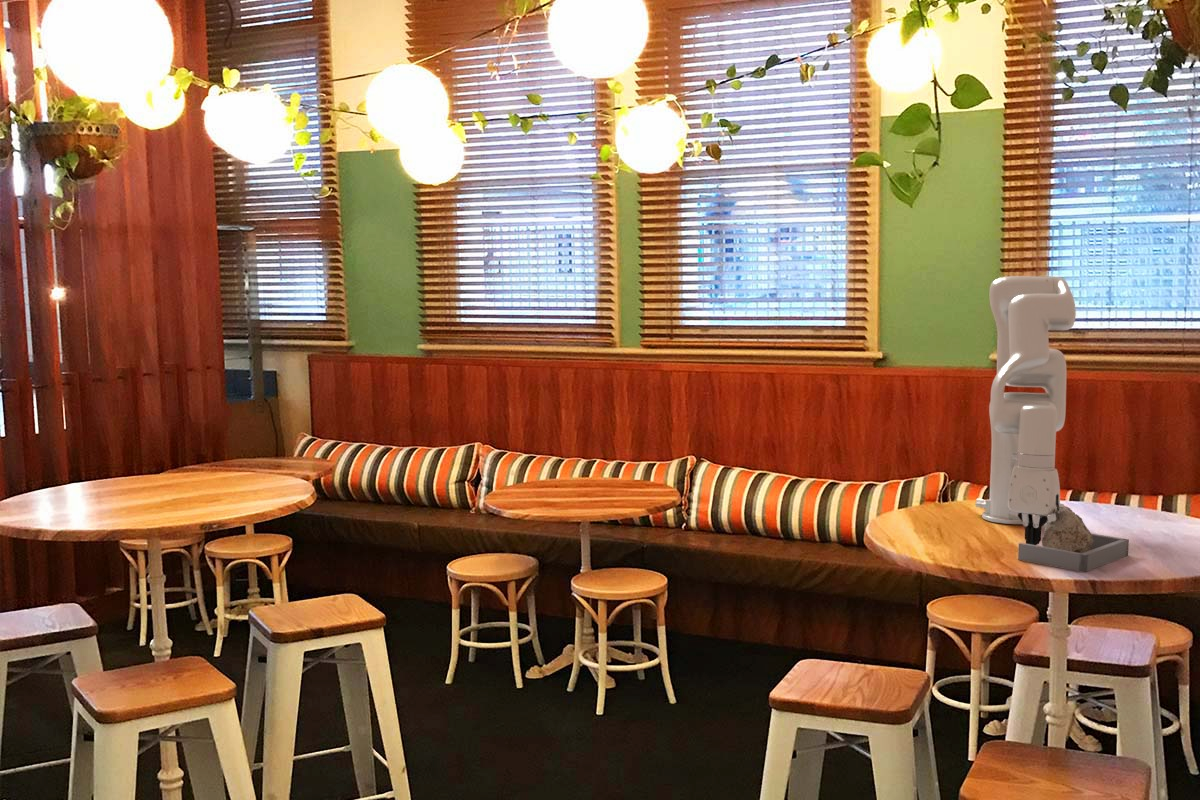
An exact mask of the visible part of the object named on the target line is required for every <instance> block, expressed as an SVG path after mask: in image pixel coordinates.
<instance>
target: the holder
mask: <svg viewBox="0 0 1200 800" xmlns="http://www.w3.org/2000/svg"><path fill="white" fill-rule="evenodd" d="M1091 534H1092V536H1093V537H1092V538H1093V544H1092V546H1091V549H1090V551H1087V552H1084V553H1077V552H1072V551H1066V550H1060V549H1055V548H1049V547H1043V546H1042V545H1032V544H1026V542H1019V543H1018V550H1017V551H1018V553H1017V555H1018V557H1017V558H1018V559H1017V560H1019V561H1022V562H1028V563H1032V564H1039V565H1043V566H1044V565H1045V566H1048V567H1049V566H1050V567H1054V568H1055V567H1056V568H1059V569H1060V568H1061V569H1066V570H1071V571H1076V572H1082V573H1086V572H1088V571H1091V570H1094V569H1096V568H1099V567H1101V566H1105V565H1107V564H1110V563H1112V562H1115V561H1117V560H1120V559H1122V558H1125V557H1128V556H1129V549H1130V548H1129V546H1130V545H1129V544H1130V542H1129V541H1130V539H1128V538H1121V537H1116V536H1110V535H1109V536H1108V535H1104V534H1103V535H1102V534H1097V533H1092V532H1091Z"/></svg>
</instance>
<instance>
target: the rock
mask: <svg viewBox="0 0 1200 800" xmlns="http://www.w3.org/2000/svg"><path fill="white" fill-rule="evenodd" d="M1058 516H1059V519H1058V520H1056V521H1049V522H1047V523H1046V524H1045V528H1044V532H1043V536H1042V537H1041V543H1042V544H1041V546H1043V547H1049V548H1055V549H1060V550H1066V551H1072V552H1077V553H1084V552H1087V551H1090V549H1091V546H1092V544H1093V538H1092V537H1093V536H1092V534H1093V533H1092V532H1091V531H1090V530H1089V528H1088V527H1087V525H1086V524H1085V522H1084V520H1083V518H1082V517H1080V515H1079V514H1076V513H1075V512H1074V511H1073V510H1072V509H1071V508H1070V507H1068V506H1067V505H1064V504H1063V503H1060V509H1059V512H1058ZM1091 533H1092V534H1091Z"/></svg>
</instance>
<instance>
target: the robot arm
mask: <svg viewBox="0 0 1200 800" xmlns="http://www.w3.org/2000/svg"><path fill="white" fill-rule="evenodd" d="M988 292H989V295H988V296H989V304H990V309H991V313H992V315H993V318H994V321H995V324H996V329H997V331H996V332H997V343H996V344H997V346H996V347H997V348H996V375H995V376H994V378H993V380H992V384H991V388H990V402H989V405H988V406H989V407H988V408H989V409H988V412H989V413H988V414H989V420H990V423H989V424H990V432H991V434H990V435H991V452H990V455H991V456H990V476H989V477H990V478H989V481H990V482H989V499H988V498H987V499H983V498H976V499H975V500H976V501H975V507H976V508H983V509H984V511H983V512H982V514H981V516H982V519H983V520H985V521H987V522H992V523H997V524H1006V525H1022V526H1023V527H1024V540H1025V543H1026V544H1032V545H1037V546H1039V545H1040V542H1042V527H1044V526H1045V525H1046V524H1047V522H1049V521H1056V520H1058V519H1059V516H1058V512H1059V509H1060V504H1061V487H1060V485H1061V484H1060V477H1059V473H1058V469H1057V468H1055V467H1056V466H1055V465H1056V463H1055V462H1056V440H1057V437H1056V436H1057V432H1059V431H1061V430H1062V429H1063V427H1064V426H1065V420H1066V412H1067V410H1066V409H1067V408H1066V407H1067V374H1068V373H1067V362H1066V358H1065V356H1064V353H1063V352H1062V351H1060V350H1059V349H1056V348H1050V343H1049V331H1069V330H1070V329H1072V327H1074V324H1075V322H1076V316H1077V313H1076V312H1077V310H1076V304H1075V300H1074V296H1073V293H1072V291H1071V289H1070V287H1069V284H1068V282H1067V280H1066V279H1064V278H1063V277H1061V276H1051V275H1050V276H1048V275H1047V276H1045V275H1044V276H1037V275H1036V276H1032V275H1012V276H1003V277H1002V276H1001V277H999V278H995V279H994V280H993V281H992V282H991V284H990V286H989V291H988ZM1006 386H1007V387H1016V388H1042V389H1043V390H1044V391H1045V392H1027V391H1026V392H1025V391H1024V392H1023V391H1021V392H1018V391H1016V392H1014V391H1013V392H1012V391H1009V392H1005V387H1006Z"/></svg>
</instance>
